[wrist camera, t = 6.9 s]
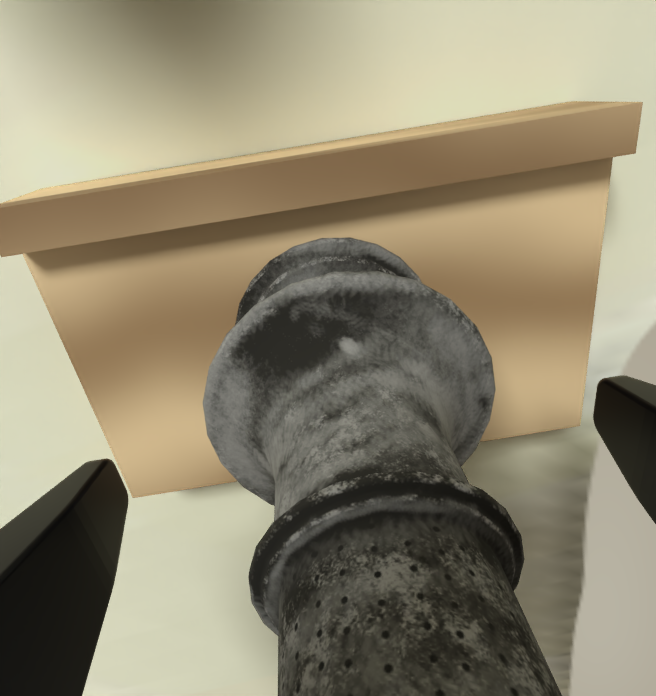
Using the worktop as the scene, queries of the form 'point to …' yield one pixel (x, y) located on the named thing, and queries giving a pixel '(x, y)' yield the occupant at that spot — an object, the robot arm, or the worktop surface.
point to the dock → (327, 222)
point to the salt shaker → (370, 481)
